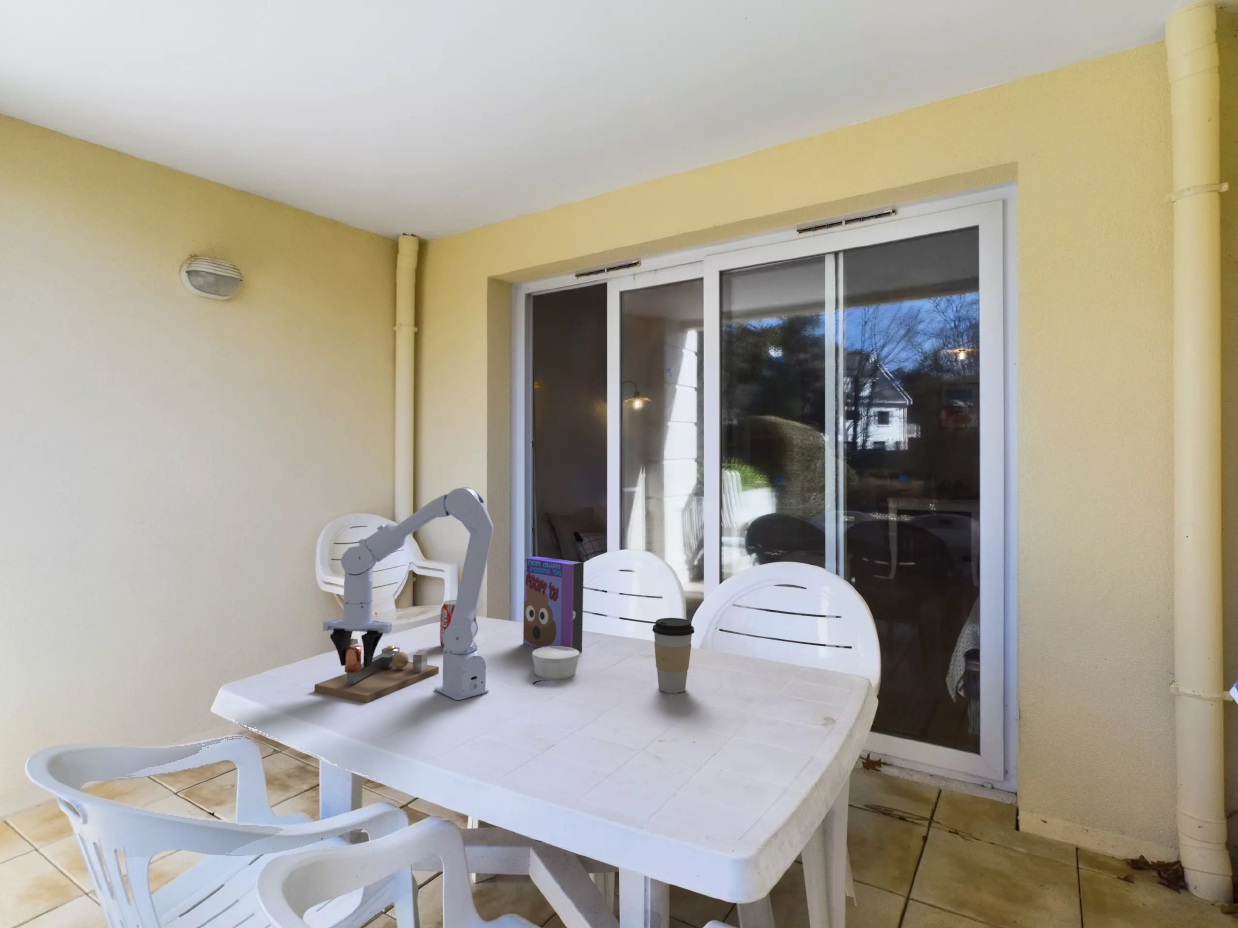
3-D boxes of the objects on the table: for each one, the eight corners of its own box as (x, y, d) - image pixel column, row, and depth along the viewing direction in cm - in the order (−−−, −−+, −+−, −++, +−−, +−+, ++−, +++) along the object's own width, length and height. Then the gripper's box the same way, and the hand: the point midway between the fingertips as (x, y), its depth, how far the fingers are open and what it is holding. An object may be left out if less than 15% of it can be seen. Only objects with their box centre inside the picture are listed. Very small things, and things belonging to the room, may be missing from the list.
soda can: (462, 650, 172) (463, 604, 172) (436, 649, 172) (437, 604, 172) (469, 643, 179) (470, 599, 179) (444, 642, 179) (445, 599, 179)
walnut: (399, 664, 152) (400, 649, 152) (411, 666, 150) (412, 651, 150) (388, 668, 149) (389, 653, 149) (400, 670, 147) (401, 655, 147)
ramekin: (582, 668, 158) (582, 646, 158) (574, 682, 147) (575, 659, 147) (537, 665, 159) (538, 644, 159) (526, 680, 148) (527, 657, 148)
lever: (386, 658, 156) (387, 627, 156) (404, 660, 156) (405, 628, 156) (339, 684, 137) (340, 648, 137) (359, 686, 136) (360, 649, 136)
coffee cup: (644, 691, 142) (645, 623, 142) (661, 679, 150) (662, 615, 150) (684, 699, 137) (685, 628, 137) (699, 686, 146) (700, 620, 146)
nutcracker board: (389, 664, 158) (390, 641, 158) (438, 673, 152) (439, 649, 152) (314, 691, 138) (315, 665, 138) (367, 702, 132) (367, 675, 132)
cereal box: (523, 643, 179) (524, 557, 179) (535, 640, 183) (537, 555, 183) (570, 655, 169) (571, 563, 169) (582, 651, 172) (583, 561, 173)
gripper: (398, 599, 142) (397, 661, 141) (336, 596, 143) (334, 657, 143) (383, 605, 135) (382, 670, 134) (318, 602, 136) (316, 667, 136)
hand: (356, 665), depth 138 cm, fingers open, 4 cm apart
